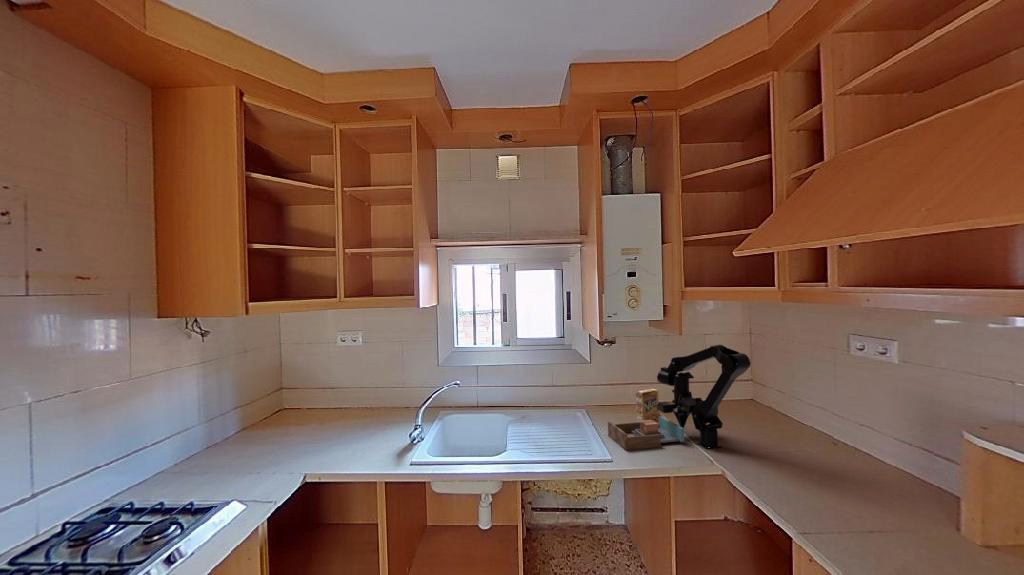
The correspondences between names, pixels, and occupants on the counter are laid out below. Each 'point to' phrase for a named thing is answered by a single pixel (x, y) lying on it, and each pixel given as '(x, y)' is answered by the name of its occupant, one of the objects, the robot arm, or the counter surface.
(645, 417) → the candy box
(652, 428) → the terracotta block
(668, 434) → the sliding tray
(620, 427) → the caddy frame
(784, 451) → the counter surface
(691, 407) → the robot arm
